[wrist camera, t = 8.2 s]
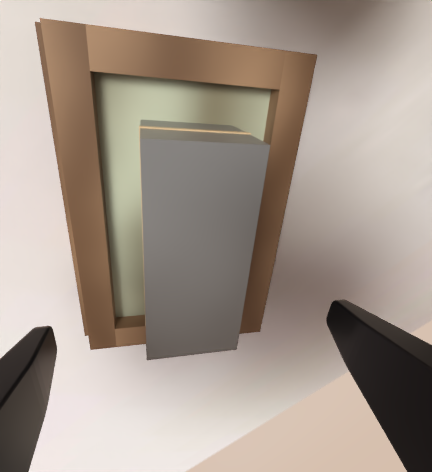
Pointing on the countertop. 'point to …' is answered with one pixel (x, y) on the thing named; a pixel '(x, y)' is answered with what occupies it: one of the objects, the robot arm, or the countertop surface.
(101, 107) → the wooden picture frame
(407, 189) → the countertop surface
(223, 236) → the glasses case
